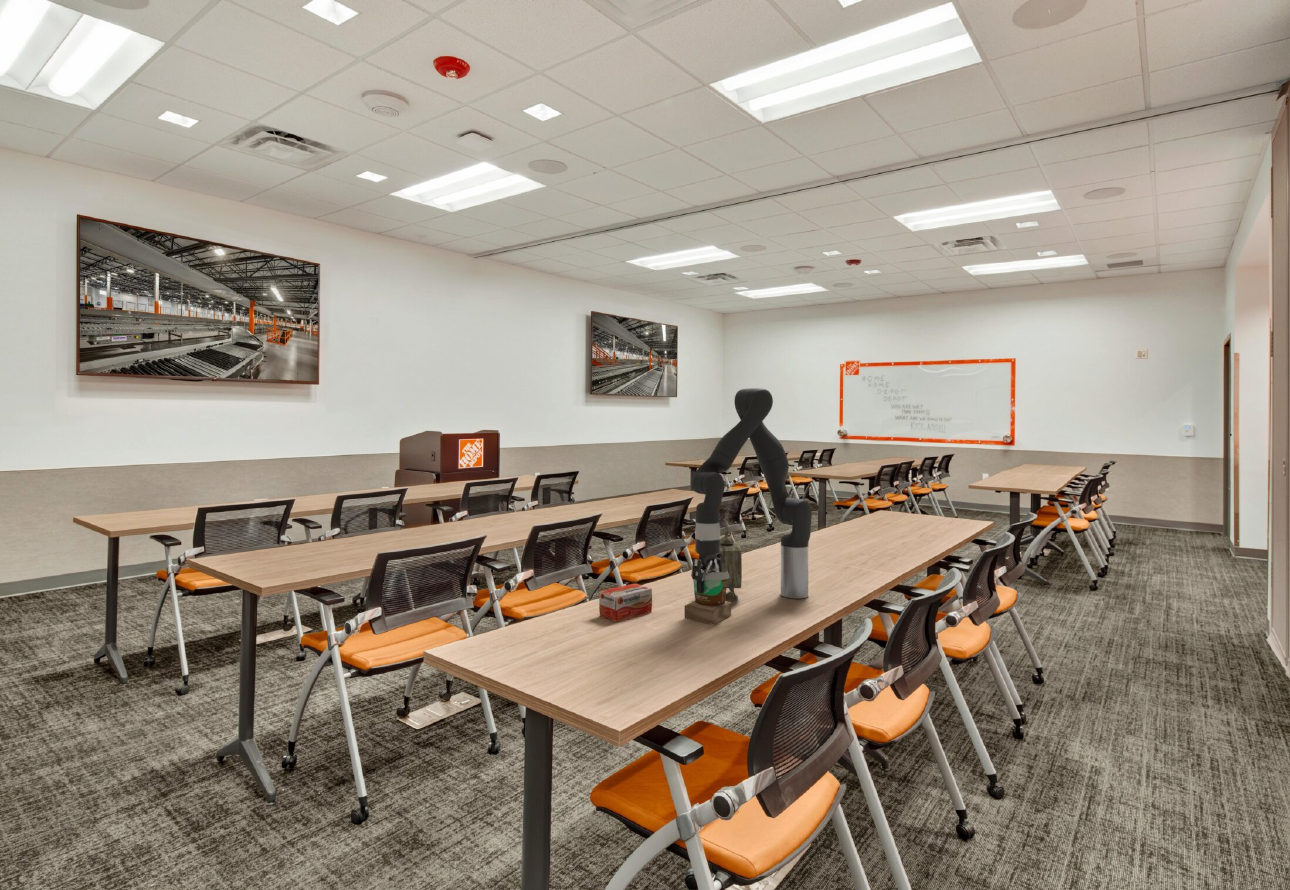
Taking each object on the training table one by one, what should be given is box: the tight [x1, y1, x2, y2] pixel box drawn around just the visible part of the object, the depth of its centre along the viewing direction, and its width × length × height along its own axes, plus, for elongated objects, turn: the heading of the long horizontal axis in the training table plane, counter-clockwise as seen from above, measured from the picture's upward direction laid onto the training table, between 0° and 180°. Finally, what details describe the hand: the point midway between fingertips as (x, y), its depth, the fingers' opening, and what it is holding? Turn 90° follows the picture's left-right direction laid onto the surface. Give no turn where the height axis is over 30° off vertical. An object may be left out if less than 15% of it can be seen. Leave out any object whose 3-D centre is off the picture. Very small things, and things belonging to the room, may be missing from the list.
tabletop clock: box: [718, 522, 743, 601], centre depth 222 cm, size 14×9×25 cm, turn 179°
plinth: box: [684, 600, 732, 625], centre depth 199 cm, size 11×10×4 cm
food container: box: [690, 571, 730, 606], centre depth 198 cm, size 12×6×10 cm, turn 61°
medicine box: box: [598, 583, 653, 623], centre depth 202 cm, size 15×8×8 cm, turn 132°
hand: (707, 589), depth 198 cm, fingers open, 8 cm apart
